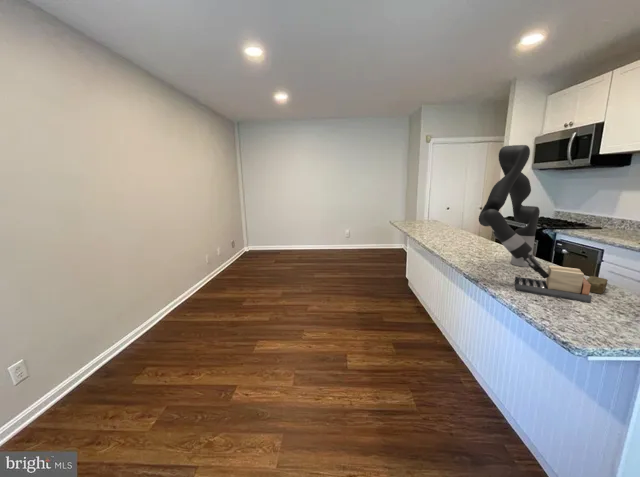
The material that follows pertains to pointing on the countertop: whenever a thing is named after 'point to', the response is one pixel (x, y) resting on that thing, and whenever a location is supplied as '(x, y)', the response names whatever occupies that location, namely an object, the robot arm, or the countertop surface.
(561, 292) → the roller track
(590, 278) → the stone block
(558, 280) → the birch slab
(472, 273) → the countertop surface
